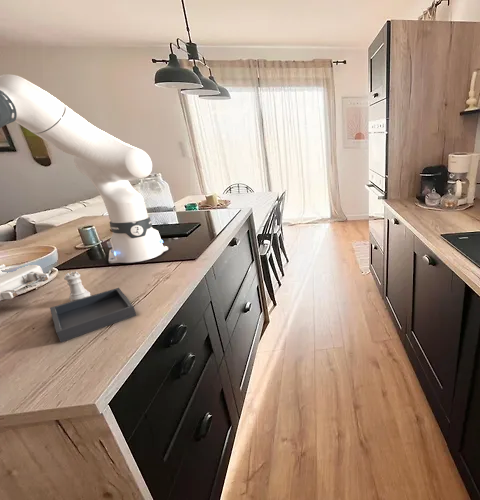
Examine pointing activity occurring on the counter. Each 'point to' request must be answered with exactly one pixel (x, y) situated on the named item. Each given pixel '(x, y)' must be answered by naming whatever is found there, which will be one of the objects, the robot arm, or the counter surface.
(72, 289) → the rook chess piece
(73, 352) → the counter surface
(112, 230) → the robot arm
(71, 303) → the tray
